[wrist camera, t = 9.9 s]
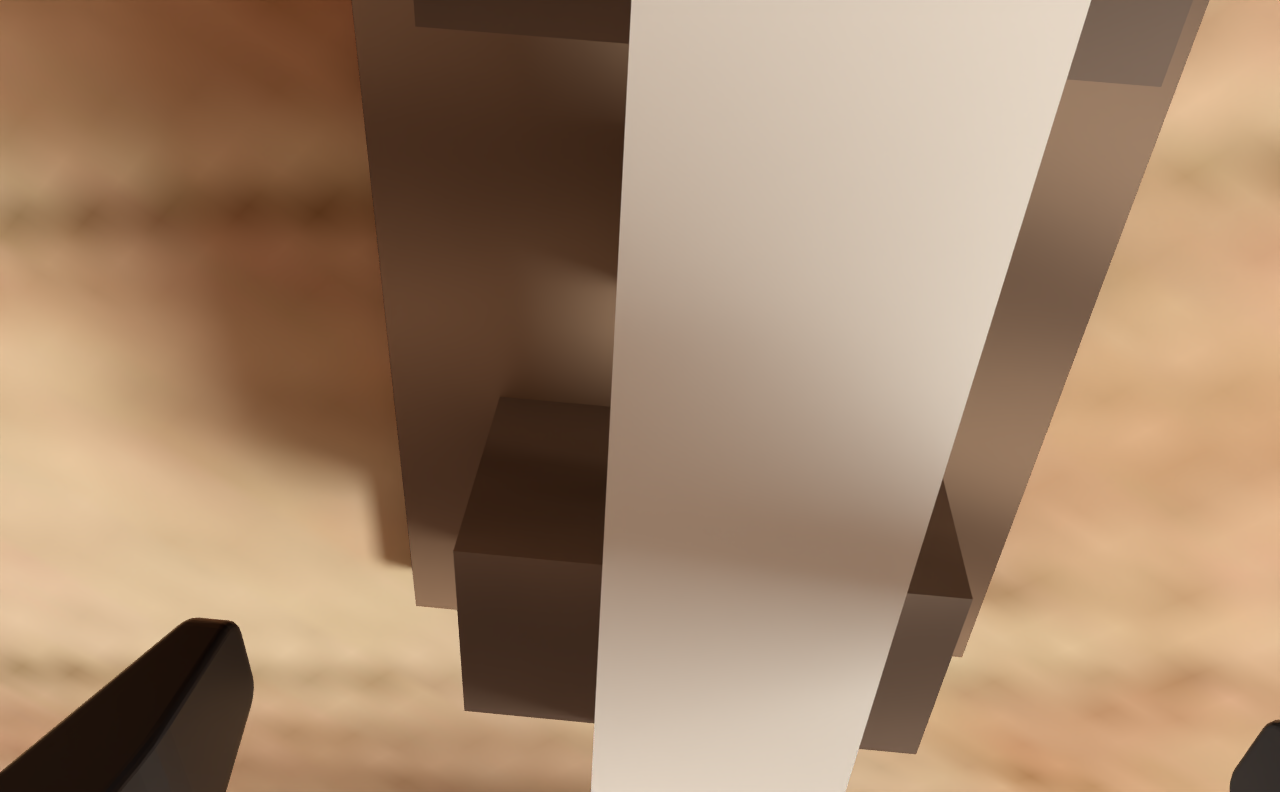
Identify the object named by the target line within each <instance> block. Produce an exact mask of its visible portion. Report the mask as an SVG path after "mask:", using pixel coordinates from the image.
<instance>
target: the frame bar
mask: <svg viewBox="0 0 1280 792" xmlns="http://www.w3.org/2000/svg"><path fill="white" fill-rule="evenodd" d="M1090 2H1091V0H631V19H630V38H629V58H628V77H627V97H626V116H625V136H624V155H623V175H622V194H621V214H620V233H619V253H618V272H617V292H616V311H615V331H614V350H613V370H612V389H611V409H610V428H609V448H608V467H607V487H606V506H605V526H604V545H603V565H602V584H601V604H600V623H599V643H598V662H597V682H596V701H595V721H594V740H593V760H592V779H591V792H846V788H847V785H848V782H849V779H850V775H851V772H852V769H853V766H854V763H855V759H856V756H857V753H858V750H859V746H860V743H861V740H862V737H863V734H864V730H865V727H866V724H867V721H868V717H869V714H870V711H871V708H872V705H873V701H874V698H875V695H876V692H877V688H878V685H879V682H880V679H881V676H882V672H883V669H884V666H885V663H886V659H887V656H888V653H889V650H890V647H891V643H892V640H893V637H894V634H895V630H896V627H897V624H898V621H899V618H900V614H901V611H902V608H903V605H904V601H905V598H906V595H907V592H908V589H909V585H910V582H911V579H912V576H913V572H914V569H915V566H916V563H917V560H918V556H919V553H920V550H921V547H922V544H923V540H924V537H925V534H926V531H927V527H928V524H929V521H930V518H931V515H932V511H933V508H934V505H935V502H936V498H937V495H938V492H939V489H940V486H941V482H942V479H943V476H944V473H945V469H946V466H947V463H948V460H949V457H950V453H951V450H952V447H953V444H954V440H955V437H956V434H957V431H958V428H959V424H960V421H961V418H962V415H963V411H964V408H965V405H966V402H967V399H968V395H969V392H970V389H971V386H972V382H973V379H974V376H975V373H976V370H977V366H978V363H979V360H980V357H981V353H982V350H983V347H984V344H985V341H986V337H987V334H988V331H989V328H990V324H991V321H992V318H993V315H994V312H995V308H996V305H997V302H998V299H999V296H1000V292H1001V289H1002V286H1003V283H1004V279H1005V276H1006V273H1007V270H1008V267H1009V263H1010V260H1011V257H1012V254H1013V250H1014V247H1015V244H1016V241H1017V238H1018V234H1019V231H1020V228H1021V225H1022V221H1023V218H1024V215H1025V212H1026V209H1027V205H1028V202H1029V199H1030V196H1031V192H1032V189H1033V186H1034V183H1035V180H1036V176H1037V173H1038V170H1039V167H1040V163H1041V160H1042V157H1043V154H1044V151H1045V147H1046V144H1047V141H1048V138H1049V134H1050V131H1051V128H1052V125H1053V122H1054V118H1055V115H1056V112H1057V109H1058V105H1059V102H1060V99H1061V96H1062V93H1063V89H1064V86H1065V83H1066V80H1067V77H1068V73H1069V70H1070V67H1071V64H1072V60H1073V57H1074V54H1075V51H1076V48H1077V44H1078V41H1079V38H1080V35H1081V31H1082V28H1083V25H1084V22H1085V19H1086V15H1087V12H1088V9H1089V6H1090Z"/></svg>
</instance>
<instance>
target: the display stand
mask: <svg viewBox="0 0 1280 792" xmlns="http://www.w3.org/2000/svg"><path fill="white" fill-rule="evenodd" d="M1208 2H1209V0H1091V2H1090V6H1089V9H1088V12H1087V15H1086V19H1085V22H1084V25H1083V28H1082V31H1081V35H1080V38H1079V41H1078V44H1077V48H1076V51H1075V54H1074V57H1073V60H1072V64H1071V67H1070V70H1069V73H1068V77H1067V80H1066V83H1065V86H1064V89H1063V93H1062V96H1061V99H1060V102H1059V105H1058V109H1057V112H1056V115H1055V118H1054V122H1053V125H1052V128H1051V131H1050V134H1049V138H1048V141H1047V144H1046V147H1045V151H1044V154H1043V157H1042V160H1041V163H1040V167H1039V170H1038V173H1037V176H1036V180H1035V183H1034V186H1033V189H1032V192H1031V196H1030V199H1029V202H1028V205H1027V209H1026V212H1025V215H1024V218H1023V221H1022V225H1021V228H1020V231H1019V234H1018V238H1017V241H1016V244H1015V247H1014V250H1013V254H1012V257H1011V260H1010V263H1009V267H1008V270H1007V273H1006V276H1005V279H1004V283H1003V286H1002V289H1001V292H1000V296H999V299H998V302H997V305H996V308H995V312H994V315H993V318H992V321H991V324H990V328H989V331H988V334H987V337H986V341H985V344H984V347H983V350H982V353H981V357H980V360H979V363H978V366H977V370H976V373H975V376H974V379H973V382H972V386H971V389H970V392H969V395H968V399H967V402H966V405H965V408H964V411H963V415H962V418H961V421H960V424H959V428H958V431H957V434H956V437H955V440H954V444H953V447H952V450H951V453H950V457H949V460H948V463H947V466H946V469H945V473H944V476H943V479H942V482H941V486H940V489H939V492H938V495H937V498H936V502H935V505H934V508H933V511H932V515H931V518H930V521H929V524H928V527H927V531H926V534H925V537H924V540H923V544H922V547H921V550H920V553H919V556H918V560H917V563H916V566H915V569H914V572H913V576H912V579H911V582H910V585H909V589H908V592H907V595H906V598H905V601H904V605H903V608H902V611H901V614H900V618H899V621H898V624H897V627H896V630H895V634H894V637H893V640H892V643H891V647H890V650H889V653H888V656H887V659H886V663H885V666H884V669H883V672H882V676H881V679H880V682H879V685H878V688H877V692H876V695H875V698H874V701H873V705H872V708H871V711H870V714H869V717H868V721H867V724H866V727H865V730H864V734H863V737H862V740H861V743H860V746H859V749H867V750H877V751H888V752H898V753H909V754H916V753H917V750H918V747H919V745H920V742H921V739H922V736H923V734H924V731H925V728H926V726H927V723H928V720H929V717H930V715H931V712H932V709H933V707H934V704H935V701H936V698H937V696H938V693H939V690H940V687H941V685H942V682H943V679H944V677H945V674H946V671H947V668H948V666H949V663H950V660H951V658H952V656H955V657H962V656H963V653H964V650H965V648H966V645H967V642H968V640H969V637H970V634H971V632H972V629H973V626H974V624H975V621H976V618H977V616H978V613H979V610H980V608H981V605H982V602H983V600H984V597H985V594H986V592H987V589H988V586H989V584H990V581H991V579H992V576H993V573H994V571H995V568H996V565H997V563H998V560H999V557H1000V555H1001V552H1002V549H1003V547H1004V544H1005V541H1006V539H1007V536H1008V533H1009V531H1010V528H1011V525H1012V523H1013V520H1014V517H1015V515H1016V512H1017V510H1018V507H1019V504H1020V502H1021V499H1022V496H1023V494H1024V491H1025V488H1026V486H1027V483H1028V480H1029V478H1030V475H1031V472H1032V470H1033V467H1034V464H1035V462H1036V459H1037V456H1038V454H1039V451H1040V448H1041V446H1042V443H1043V440H1044V438H1045V435H1046V433H1047V430H1048V427H1049V425H1050V422H1051V419H1052V417H1053V414H1054V411H1055V409H1056V406H1057V403H1058V401H1059V398H1060V395H1061V393H1062V390H1063V387H1064V385H1065V382H1066V379H1067V377H1068V374H1069V371H1070V369H1071V366H1072V363H1073V361H1074V358H1075V356H1076V353H1077V350H1078V348H1079V345H1080V342H1081V340H1082V337H1083V334H1084V332H1085V329H1086V326H1087V324H1088V321H1089V318H1090V316H1091V313H1092V310H1093V308H1094V305H1095V302H1096V300H1097V297H1098V294H1099V292H1100V289H1101V287H1102V284H1103V281H1104V279H1105V276H1106V273H1107V271H1108V268H1109V265H1110V263H1111V260H1112V257H1113V255H1114V252H1115V249H1116V247H1117V244H1118V241H1119V239H1120V236H1121V233H1122V231H1123V228H1124V225H1125V223H1126V220H1127V217H1128V215H1129V212H1130V210H1131V207H1132V204H1133V202H1134V199H1135V196H1136V194H1137V191H1138V188H1139V186H1140V183H1141V180H1142V178H1143V175H1144V172H1145V170H1146V167H1147V164H1148V162H1149V159H1150V156H1151V154H1152V151H1153V148H1154V146H1155V143H1156V140H1157V138H1158V135H1159V133H1160V130H1161V127H1162V125H1163V122H1164V119H1165V117H1166V114H1167V111H1168V109H1169V106H1170V103H1171V101H1172V98H1173V95H1174V93H1175V90H1176V87H1177V85H1178V82H1179V79H1180V77H1181V74H1182V71H1183V69H1184V66H1185V64H1186V61H1187V58H1188V56H1189V53H1190V50H1191V48H1192V45H1193V42H1194V40H1195V37H1196V34H1197V32H1198V29H1199V26H1200V24H1201V21H1202V18H1203V16H1204V13H1205V10H1206V8H1207V5H1208ZM352 10H353V19H354V28H355V38H356V47H357V56H358V66H359V75H360V85H361V94H362V103H363V113H364V122H365V131H366V141H367V150H368V159H369V169H370V178H371V187H372V197H373V206H374V215H375V225H376V234H377V243H378V253H379V262H380V272H381V281H382V290H383V300H384V309H385V318H386V328H387V337H388V346H389V356H390V365H391V374H392V384H393V393H394V402H395V412H396V421H397V430H398V440H399V449H400V459H401V468H402V477H403V487H404V496H405V505H406V515H407V524H408V533H409V543H410V552H411V561H412V571H413V580H414V589H415V599H416V606H424V607H434V608H445V609H456V610H457V612H458V626H459V639H460V653H461V667H462V681H463V695H464V709H465V711H472V712H483V713H493V714H503V715H514V716H524V717H535V718H545V719H555V720H566V721H576V722H587V723H594V721H595V701H596V682H597V662H598V643H599V623H600V604H601V584H602V565H603V545H604V526H605V506H606V487H607V467H608V448H609V428H610V409H611V389H612V370H613V350H614V331H615V311H616V292H617V272H618V253H619V233H620V214H621V194H622V175H623V155H624V136H625V116H626V97H627V77H628V58H629V38H630V19H631V0H352Z"/></svg>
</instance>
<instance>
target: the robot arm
mask: <svg viewBox="0 0 1280 792" xmlns="http://www.w3.org/2000/svg"><path fill="white" fill-rule="evenodd" d="M253 690H254V682H253V676H252V672H251V668H250V664H249V660H248V657H247V653H246V649H245V645H244V642H243V638H242V634H241V631H240V629H239V627H238V626H237V625H236V624H235V623H234V622H232V621H229V620H218V619H208V618H191V619H188V620H186V621H184V622H182V623H181V624H180V625H178V626H177V627H176V628H175V629H173V630H172V631H171V632H170V633H168V634H167V635H166V636H165V637H164V638H162V639H161V640H160V641H159V642H158V643H156V644H155V645H154V646H153V647H152V648H150V649H149V650H148V651H147V652H145V653H144V654H143V655H142V656H141V657H139V658H138V659H137V660H136V661H135V662H133V663H132V664H131V665H130V666H128V667H127V668H126V669H125V670H124V671H122V672H121V673H120V674H119V675H118V676H116V677H115V678H114V679H113V680H111V681H110V682H109V683H108V684H107V685H105V686H104V687H103V688H102V689H101V690H99V691H98V692H97V693H96V694H94V695H93V696H92V697H91V698H90V699H88V700H87V701H86V702H85V703H84V704H82V705H81V706H80V707H79V708H77V709H76V710H75V711H74V712H73V713H71V714H70V715H69V716H68V717H67V718H65V719H64V720H63V721H62V722H60V723H59V724H58V725H57V726H56V727H54V728H53V729H52V730H51V731H50V732H48V733H47V734H46V735H45V736H43V737H42V738H41V739H40V740H39V741H37V742H36V743H35V744H34V745H33V746H31V747H30V748H29V749H28V750H26V751H25V752H24V753H23V754H22V755H20V756H19V757H18V758H17V759H16V760H14V761H13V762H12V763H11V764H9V765H8V766H7V767H6V768H5V769H3V770H2V771H1V772H0V792H226V790H227V786H228V783H229V779H230V776H231V773H232V769H233V766H234V762H235V759H236V756H237V752H238V749H239V745H240V742H241V739H242V735H243V732H244V728H245V725H246V721H247V718H248V715H249V711H250V708H251V704H252V699H253ZM1230 792H1280V720H1274V721H1272V722H1270V723H1268V724H1267V725H1266V726H1265V727H1264V728H1263V729H1262V731H1261V732H1260V734H1259V735H1258V736H1257V738H1256V739H1255V741H1254V742H1253V744H1252V745H1251V746H1250V748H1249V749H1248V751H1247V752H1246V754H1245V755H1244V757H1243V758H1242V759H1241V761H1240V762H1239V764H1238V765H1237V767H1236V768H1235V770H1234V772H1233V774H1232V778H1231V781H1230Z"/></svg>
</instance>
